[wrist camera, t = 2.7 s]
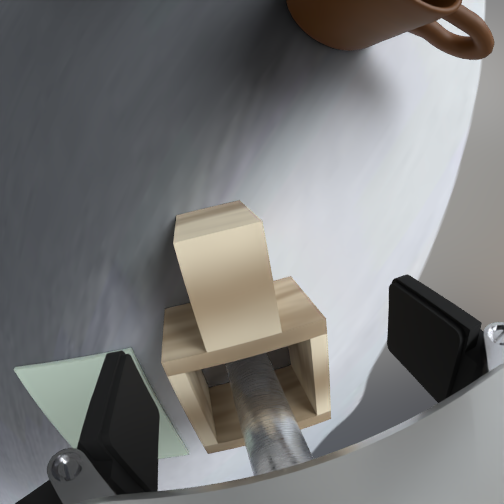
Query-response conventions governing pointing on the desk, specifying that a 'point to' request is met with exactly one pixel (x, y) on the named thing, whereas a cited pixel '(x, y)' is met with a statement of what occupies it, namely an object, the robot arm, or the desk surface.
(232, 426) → the beige wooden open box
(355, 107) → the desk surface
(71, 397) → the mat
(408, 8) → the mug
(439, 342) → the robot arm
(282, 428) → the post
